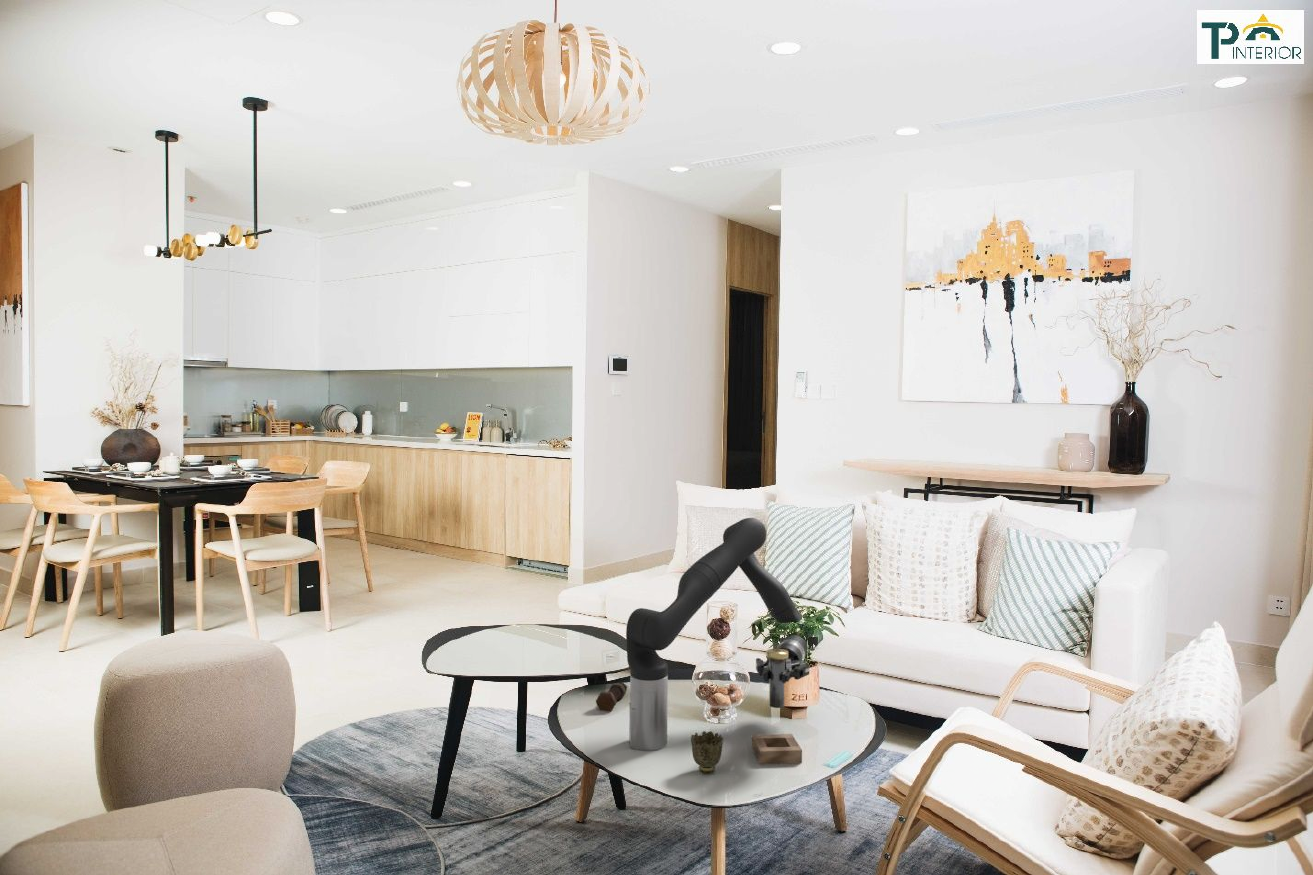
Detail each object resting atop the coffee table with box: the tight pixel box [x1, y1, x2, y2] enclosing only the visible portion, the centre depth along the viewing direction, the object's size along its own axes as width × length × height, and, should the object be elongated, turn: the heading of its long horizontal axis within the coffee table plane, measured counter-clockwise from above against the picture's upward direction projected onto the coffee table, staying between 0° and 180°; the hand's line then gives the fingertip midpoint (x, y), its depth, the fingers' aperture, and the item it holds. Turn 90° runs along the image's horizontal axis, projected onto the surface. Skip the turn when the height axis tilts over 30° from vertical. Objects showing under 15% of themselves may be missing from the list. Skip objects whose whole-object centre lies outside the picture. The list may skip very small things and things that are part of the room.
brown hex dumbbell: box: [595, 681, 628, 713], centre depth 248 cm, size 6×5×15 cm
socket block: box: [751, 733, 803, 765], centre depth 212 cm, size 10×10×3 cm
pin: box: [766, 648, 788, 709], centre depth 211 cm, size 5×5×13 cm
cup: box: [690, 730, 724, 774], centre depth 202 cm, size 8×7×8 cm
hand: (774, 678), depth 209 cm, fingers closed on pin, 3 cm apart
